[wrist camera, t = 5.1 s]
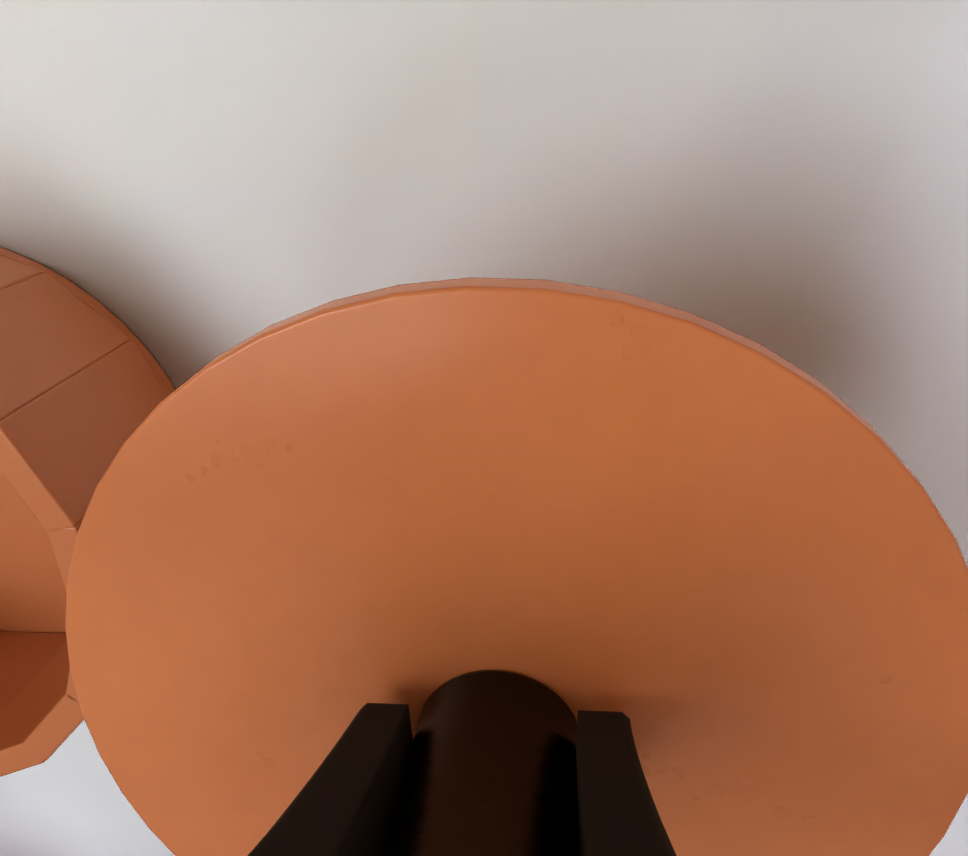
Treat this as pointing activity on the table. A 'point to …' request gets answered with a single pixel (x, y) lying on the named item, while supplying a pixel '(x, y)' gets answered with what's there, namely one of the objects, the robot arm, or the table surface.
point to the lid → (522, 583)
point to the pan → (53, 481)
